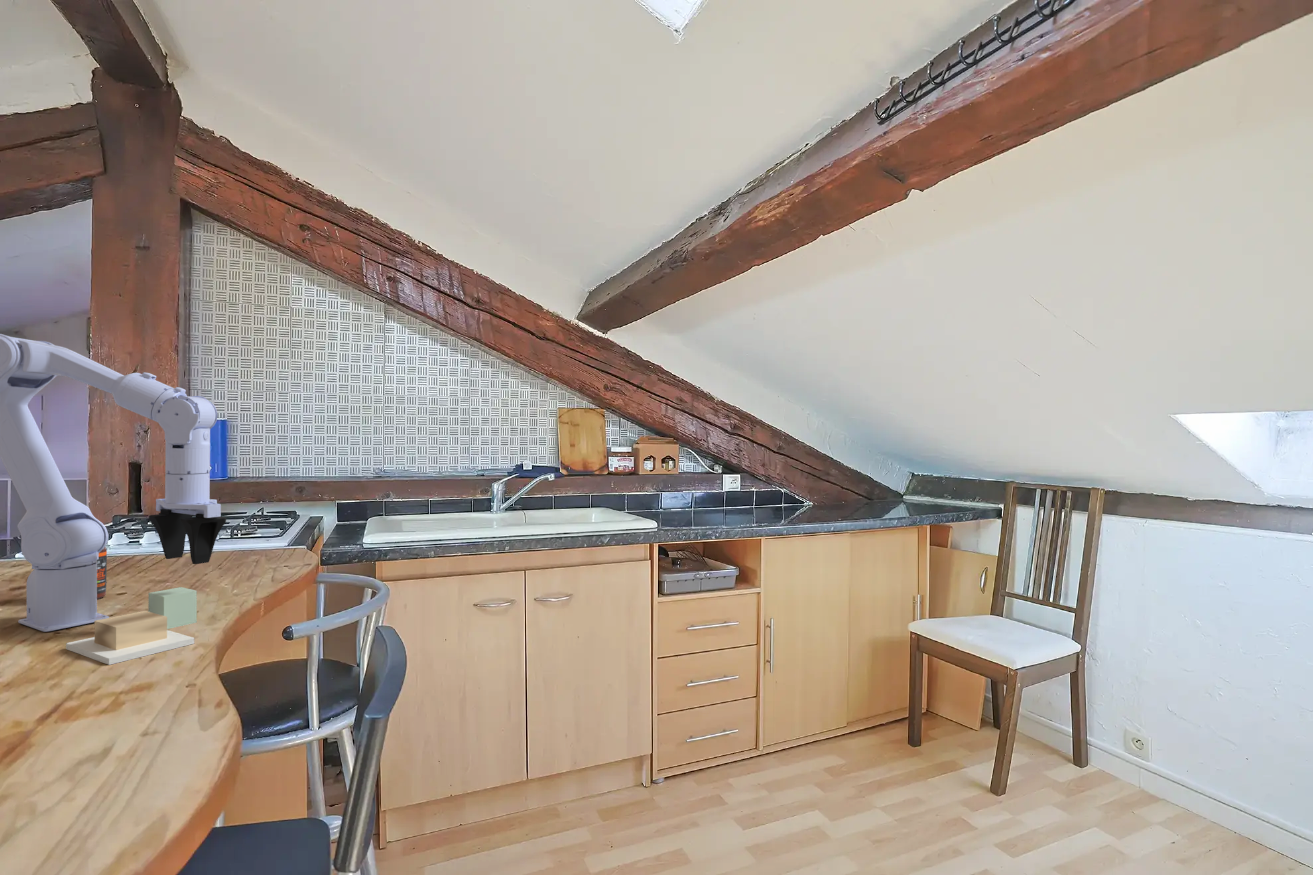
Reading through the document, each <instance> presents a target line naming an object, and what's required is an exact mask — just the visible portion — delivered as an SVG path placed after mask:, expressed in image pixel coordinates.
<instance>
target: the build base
mask: <svg viewBox="0 0 1313 875" xmlns="http://www.w3.org/2000/svg"><path fill="white" fill-rule="evenodd" d="M194 644H195V637H193V636H190V635H186V634H183V633H179V632H176V631H172V630H170V629H167V617H166V616H163V615H159V614H155V613H152V612H149V610H148V611H147V610H142V611H137V612H132V613H127V614H122V615H116V616H112V617H109V618H106V619H101V620H96V621H95V622H94V636H93V637H89V638H84V639H80V640H75V641H70V642H67V643H66V644H65V649H66V650H68V651H70V652H73V653H75V654H78V655H81V656H84V657H86V658H89V659H92V660H94V661H97V662H100V663H103V664H106V665H109V666H110V665H113V664H118V663H121V662H126V661H130V660H134V659H139V658H142V657H146V656H150V655H153V654H158V653H163V652H166V651H170V650H174V649H179V648H182V647H186V646H191V645H194Z"/></svg>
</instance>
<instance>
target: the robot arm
mask: <svg viewBox="0 0 1313 875" xmlns="http://www.w3.org/2000/svg"><path fill="white" fill-rule="evenodd" d="M58 376H59V377H60V376H61V377H67V378H70V379H72V380H74V381H78V382H80V383H83V384H85V385H88V386H91V387H94V388H96V389H99V390H101V391H104V392H106V393H109V394H111V396H112V397H113V400H114V403H115V404H116V405H117V406H119V407H121V408H124V409H125V410H128V411H130V412H133V413H135V414H136V415H140V416H141V417H145V418H147V419H149V420H150V421H151V420H152V421H153V422H156V423H158V424H159V427H161V429H162V430H163V432H164V441H165V458H164V460H165V462H164V463H165V464H164V465H165V467H164V469H165V472H164V473H165V474H164V475H165V476H164V479H165V480H164V483H165V485H164V498H156V499H155V511H156V512H159V513H158V514H151V515H149V516H148V519H149V521H150V523H151V524H152V525H153V526H154V528H155V530H156V533H157V535H158V537H159V540H160V543H161V547H162V551H163V554H164V557H165V559H166V560H171V559H179V558H183V556H184V552H185V544H186V535H187V540H188V545H189V552H190V554H189V555H190V560H191V563H192V565H200V564H208V563H210V560H211V558H212V554H213V551H214V546H215V544H216V540H217V538H218V536H219V534H220V531H221V530H222V528H223V526H224V525H225V524H226V522H227V517H225V516H222V515H221V514H222V513H221V511H222V505H221V503H218V499H215V498H214V499H211V498H210V497H211V496H210V494H211V493H210V491H211V490H210V488H211V487H210V486H211V484H210V483H211V482H210V481H211V480H210V479H211V478H210V476H211V429H212V428H213V427H215V425H216V423H217V421H218V416H219V415H218V410H217V408H216V406H215V404H214V403H213V402H211V401H210V400H208V399H207V398H206V397H205V396H203V395H190V396H188V395H187V393H186V392H187V390H186V389H185V388H183V387H180V386H179V387H177V386H176V387H175V388H174V387H172V386H170V385H169V384H165V383H164V382H161V381H159V380H156V379H157V375H156V374H155V375H154V374H152V373H150V372H142V373H140V372H133V373H129V374H125V375H124V374H122V373H121V372H117V371H115V370H114V369H112V368H109V367H107V366H105V365H103V364H101V363H99V362H96V361H95V360H93V359H90V358H88V357H87V356H84V355H82V354H80V353H78V352H76V351H74V350H71V349H69V348H67V347H65V346H60V345H55V344H53V343H52V342H50V341H46V340H32V339H27V338H20V337H14V336H9V335H6V334H2V333H0V460H1V462H2V464H3V466H4V469H5V470H6V472H7V474H8V476H9V478H10V480H11V482H12V484H13V487H14V488H15V490H16V492H17V494H18V497H19V499H20V501H21V502H22V504H23V507H24V509H25V510H26V512H25V513H24V515H23V516H22V518H21V519H20V521H19V522H18V523H17V530H18V531H19V534H20V539H21V541H20V551H21V554H22V557H23V558H24V559H25V560H26V561H27V562H28V563H30V564H31V570H32V571H31V572H30V573H29V575H28V577H27V580H26V618H21V619H19V620H18V622H17V623H18V624H21V625H24V626H27V627H30V628H32V629H36V630H38V631H41V632H44V633H45V632H53V631H58V630H62V629H66V628H68V629H69V628H71V627H77V626H78V627H79V626H81V625H82V626H83V625H86V624H92V623H95V621H96V620H101V619H106V618H110V616H109V615H105V614H103V613H99V612H98V599H97V560H98V559H99V552H101V551H102V550H103V549H104V547H107V544H108V541H109V532H108V528H107V526H105V525H104V523H103V522H102V521H100V520H99V519H98V518H97V517H95V516H94V514H93V513H92V511H91V509H90V508H89V506H87V504H84V503H82V502H81V501H79V500H77V499H75V498H74V497H72V494H71V492H70V490H69V488H68V486H67V484H66V482H65V480H64V478H63V476H62V474H61V472H60V470H59V467H58V465H57V463H56V462H55V459H54V458H53V455H52V454H51V452H50V449H49V446H48V445H47V443H46V441H45V438H44V437H43V434H42V433H41V430H40V429H39V426H38V424H37V423H36V420H35V418H34V415H33V414H32V412H31V410H30V408H29V404H30V402H31V400H32V398H34V396H36V395H37V394H38V393H39V392H40V391H42V390H43V389H44V388H45V387H46V386H48V385H49V383H51V382H52V381H53V380H54V379H55V378H56V377H58ZM193 516H195V517H193Z"/></svg>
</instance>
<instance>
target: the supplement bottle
mask: <svg viewBox="0 0 1313 875" xmlns="http://www.w3.org/2000/svg"><path fill="white" fill-rule="evenodd" d="M107 552H108V550H107V546H105V547H104V549H103V550H102V551H101V552H99V559H98V560H97V600H100V599H103V598H104V597H105V596H106V595H107V583H108V582H107V574H108V573H107V571H108V570H107V563H108V562H107V561H108V554H107Z"/></svg>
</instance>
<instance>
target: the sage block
mask: <svg viewBox="0 0 1313 875" xmlns="http://www.w3.org/2000/svg"><path fill="white" fill-rule="evenodd" d="M197 592H198V590H195V589H191V588H186V587H184V586H183V587H182V586H179V587H174V588H168V589H163V590H158V591H152V592H148V612H152V613H155V614H159V615H163V616H166V617H167V630H170V629H174V628H178V627H183V626H187V625H192V624H196V623H197V622H198V621H197V615H198V613H197V611H198V610H197V609H198V608H197V599H198V598H197V596H198V595H197ZM197 624H198V623H197Z"/></svg>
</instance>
